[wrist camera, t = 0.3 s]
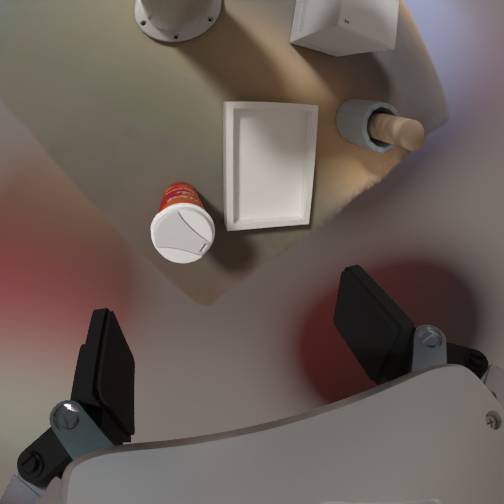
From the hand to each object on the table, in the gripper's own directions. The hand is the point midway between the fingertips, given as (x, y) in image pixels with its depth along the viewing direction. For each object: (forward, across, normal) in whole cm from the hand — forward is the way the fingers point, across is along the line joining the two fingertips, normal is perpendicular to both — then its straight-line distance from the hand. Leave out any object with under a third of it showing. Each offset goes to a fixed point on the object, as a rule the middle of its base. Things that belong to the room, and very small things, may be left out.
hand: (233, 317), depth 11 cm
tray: (+36, -12, +3) cm, 38 cm away
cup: (+36, -29, -4) cm, 46 cm away
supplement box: (+36, -22, -20) cm, 47 cm away
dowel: (+35, -29, -4) cm, 45 cm away
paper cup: (+36, +2, +7) cm, 37 cm away
